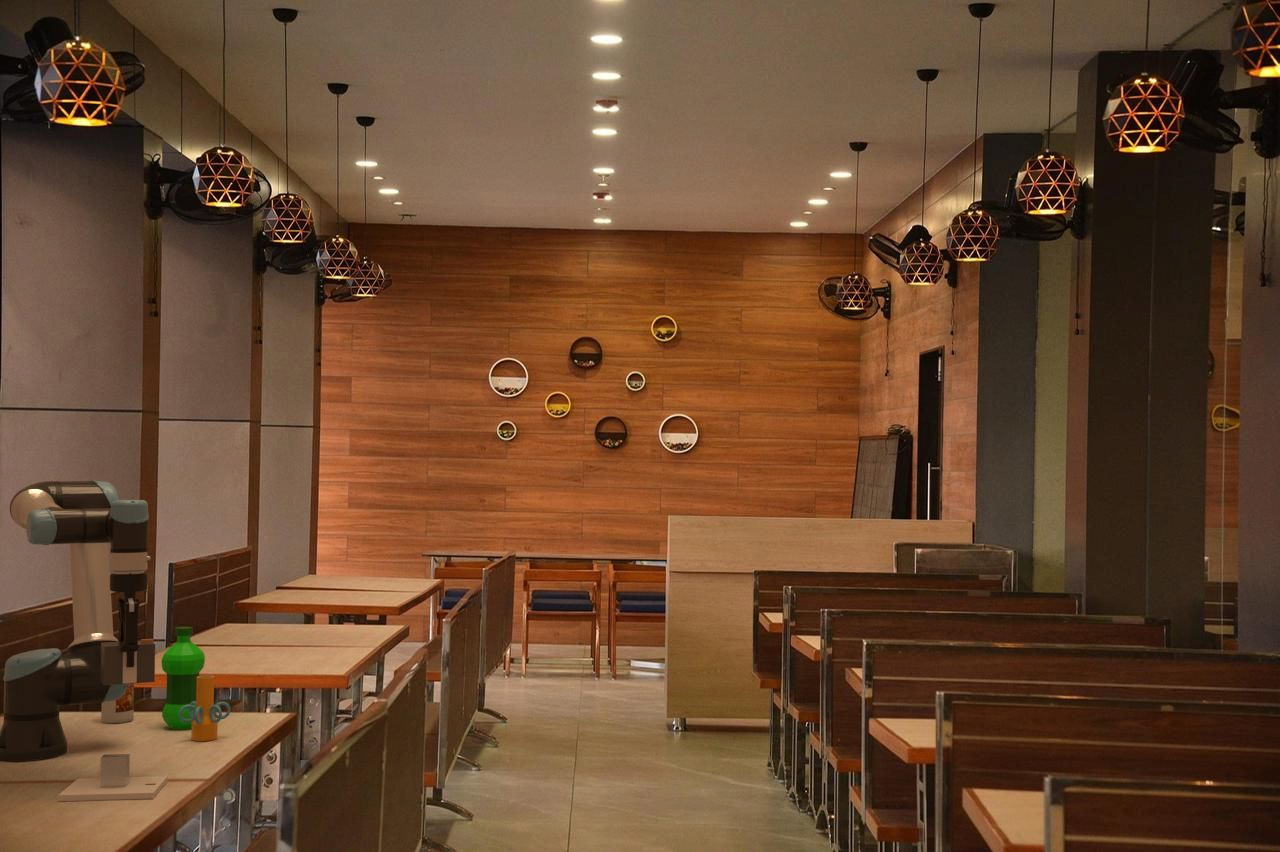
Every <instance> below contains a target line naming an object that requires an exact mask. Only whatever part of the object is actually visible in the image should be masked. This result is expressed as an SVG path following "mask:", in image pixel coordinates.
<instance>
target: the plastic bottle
mask: <svg viewBox="0 0 1280 852" xmlns="http://www.w3.org/2000/svg"><path fill="white" fill-rule="evenodd" d="M193 630H194V629H193V626H177V627H174V636H176V638H177V639H176V642H175V643H173V644H172V645H171V646H170V647H169V648H168V649H167V650H166V651H165V652H164V654H163V655H162V657H161V668H162V671H164V673H165V674H166V703H165V705H164V706H163V709H162V712H161V714H162V716H161V717H162V719H163V721H164V723H165V724H166V725H168V726H169V727H171V729H172V730H188V729H192V721H191V722H183V721H181V719H180V718H179V711H180V709H181V708H182V707H183V706H185V705H190V703H191V702H193V701H196V685H197V677H198V676H200V673H201V671H202V670H203V669H204V667H205V661H206V655H205V653H204V650H202V649H201V648H200V647H199V646H197V644H196V643H194V642H193V641H191V636H192V635H193V633H194V632H193ZM193 706H194V707H195V708H196V705H195V704H194V705H193ZM192 713H193V714H194V711H193V710H192ZM182 716H183V718H185V719H190V718H191V716H190V715H189V711H188V708H186V709H184V710H183V712H182Z"/></svg>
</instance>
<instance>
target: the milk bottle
mask: <svg viewBox="0 0 1280 852" xmlns="http://www.w3.org/2000/svg"><path fill="white" fill-rule="evenodd" d="M134 700H135V683H132V684H127V688H126V691H125V693H124V695H123V696H122V697H121V698H120V699H118V700H114V701H107V702H103V703H101V711H100V712H101V714H100V715H101V717H100V718H101V722H103V723H104V724H119V723H120V724H121V723H127V722H132V721H133V720H134V714H135V713H134V707H135V705H134V704H135V701H134Z"/></svg>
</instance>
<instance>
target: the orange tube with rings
mask: <svg viewBox="0 0 1280 852" xmlns="http://www.w3.org/2000/svg"><path fill="white" fill-rule="evenodd" d="M214 695H215V676H214V675H199V676H198V677H197V685H196V701H193V702H191V703H190V705H185V706H183V707H182V708H181V709H180V711H179V718H180V719H181V721H183V722H191V721H192V728H191V732H190V733H191V741H195V742H210V741H214V740H217V739H218V723H219V722H221V720H225V719H227V718H228V717H229V716H230V713H231V705H230V704H229V703H228V702H226V701H219V702H217V703H215V702H214V700H215V699H214V698H215V696H214ZM194 704H195V705H196V708H195V707H194V706H193V705H194ZM221 706H225V707H226V710H227V711H226V712H225V714H223V711H222V709H221ZM186 708H188V711H189V715H190V716H191V718H190V719H185V718H183V716H182V712H183V710H184V709H186ZM192 710H193V711H194V714H193V713H192ZM217 712H218V713H217Z"/></svg>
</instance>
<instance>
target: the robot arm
mask: <svg viewBox="0 0 1280 852" xmlns="http://www.w3.org/2000/svg"><path fill="white" fill-rule="evenodd" d="M9 513H10V517H11V518H12V520H13V521H14V522H15V524H17V526H19V527H21V528H23V529H25V530H26V538H27V541H28V543H29V544H31V545H41V546H42V545H43V546H49V545H64V544H65V545H68V544H69V554H70V555H69V557H70V577H71V579H70V580H71V595H72V596H71V597H72V598H71V599H72V600H71V601H72V617H73V637H74V639H73V641H72V642H71V643H70V644H69V645H68V647H67V653H65V654H62V652H61V650H60V649H59V648H53V647H52V648H51V647H50V648H41V649H40V648H39V649H34V650H28V651H25V652H20V653H18V654H14V655H12V656H11V657H9V658H8V659H7V660H6V661H5V664H4V675H3V677H2V678H3V679H2V680H3V681H4V682H3V683H4V685H3V686H4V688H3V722H2V725H1V728H0V760H1V761H4V762H5V761H6V762H28V761H29V762H30V761H38V760H46V759H52V758H55V757H59V756H62V755H64V754H66V753H67V752H68V741H67V738H66V734H65V731H64V729H63V726H62V723H61V719H60V706H72V705H82V704H83V705H84V704H94V703H95V704H96V703H101V704H102V703H103V702H107V701H114V700H118V699H120V698H121V697H122V696H123V695H124V693H125V691H126V688H127V684H117V685H103V683H102V682H101V643H104V642H123V641H124V648H122V649H120V652H123V682H122V683H134V684H138V683H137V649H138V641H139V637H138V636H139V625H138V624H139V608H140V600H139V598H137V597H136V595H137V594H136V592H144V591H146V590H147V589H148V586H149V585H148V581H149V580H148V579H149V578H148V577H149V575H148V573H147V572H145V571H147V570H148V561H151V560H152V559H151V558H152V557H151V556H150V555H148V550H149V545H148V544H149V518H150V514H149V504H148V502H147V501H146V500H144V499H120V498H119V495H118V492H117V489H116V488H115V486H114V485H113V484H112V483H110V482H108V481H98V480H97V481H96V480H92V479H91V480H86V481H85V480H78V481H77V480H75V481H74V480H65V481H64V480H63V481H61V480H59V481H58V480H57V481H54V480H47V481H39V482H36V483H33V484H29V485H27V486H25V487H23V488H21V489H20V490H18V491H17V492H16V493H15V494H14V496H13V497H12V498H11V501H10V504H9ZM109 544H110V549H109ZM109 550H110V551H109ZM110 572H112V573H110ZM112 592H115V593H121V597H119V599H118V600H117V607H118V638H116V637H115V636H114V622H113V606H112V604H113V603H112Z"/></svg>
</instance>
